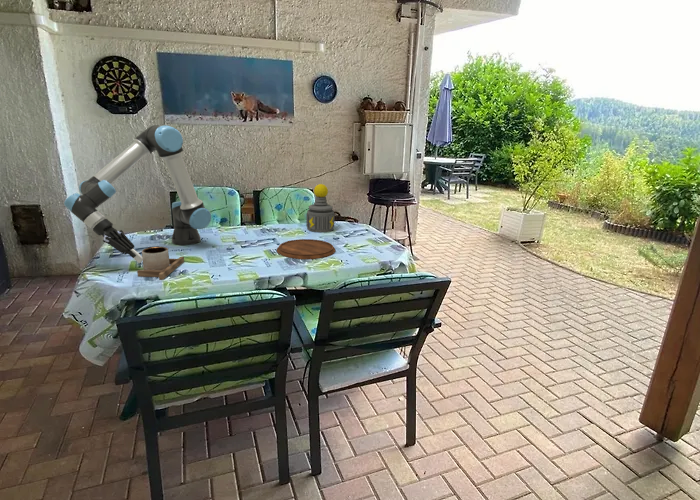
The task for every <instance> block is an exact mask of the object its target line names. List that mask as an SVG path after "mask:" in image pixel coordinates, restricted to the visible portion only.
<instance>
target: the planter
mask: <svg viewBox="0 0 700 500" xmlns="http://www.w3.org/2000/svg"><path fill="white" fill-rule="evenodd" d="M169 254H170V253H169V247H166V246H150V247H146V248H143V249H142V250H141V256H142V259H143V261H142V270H161V271H163V270H165V269H166V268H167V267H168V266H170V262H169V258H170V257H169Z"/></svg>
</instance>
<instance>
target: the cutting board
mask: <svg viewBox="0 0 700 500" xmlns="http://www.w3.org/2000/svg"><path fill="white" fill-rule="evenodd" d="M276 252H277V254H278V255H280V256H282V257H285V258H288V259H293V260H318V259H325V258H328V257H331V256H333V255H335V254H336V248H335V247H334V245H333V244H332V243H330V242H328V241H325V240H319V239H308V238H307V239H306V238H305V239H303V238H302V239H301V238H300V239H299V238H298V239H291V240H287V241H284V242H282V243H280V244H279V245H278V246H277V248H276Z"/></svg>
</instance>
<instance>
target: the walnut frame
mask: <svg viewBox="0 0 700 500" xmlns="http://www.w3.org/2000/svg"><path fill="white" fill-rule="evenodd" d="M169 262H170V266H168V267H167V268H166V269H165V270H163V271H161V270H144V269H138V270H136V271H137V277H138V278H139V277H141V278H142V277H143V278H145V277H148V278H149V277H150V278H158V280H161V281H162V280H164V279H165V278H167V277H168V276H169V275H170V274H171V273H173V272H174V271H175V270H176V269H177V268H179V267H180V266H181V265H183V263H184V262H185V257H184V256H180V257H179V258H170V257H169Z"/></svg>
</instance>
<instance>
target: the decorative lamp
mask: <svg viewBox="0 0 700 500" xmlns="http://www.w3.org/2000/svg"><path fill="white" fill-rule="evenodd" d="M328 193H329V188H328V187H327V186H326V184H324V183H319V184H317V185H315V186H314V189H313V194H314V196H315V199H314V202H313V204H310V205H309V206H308V209H307V212H306V220H305V221H306V228H307V230H308V231H310V232H311V233H312V232H313V233H329V232H332V231H333V230H334V228H335V215H336V214H335V210H333V209H334V207H333V206H332V205H330V204H328V202H327V201H328V200H327V197H326V196H328Z"/></svg>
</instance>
